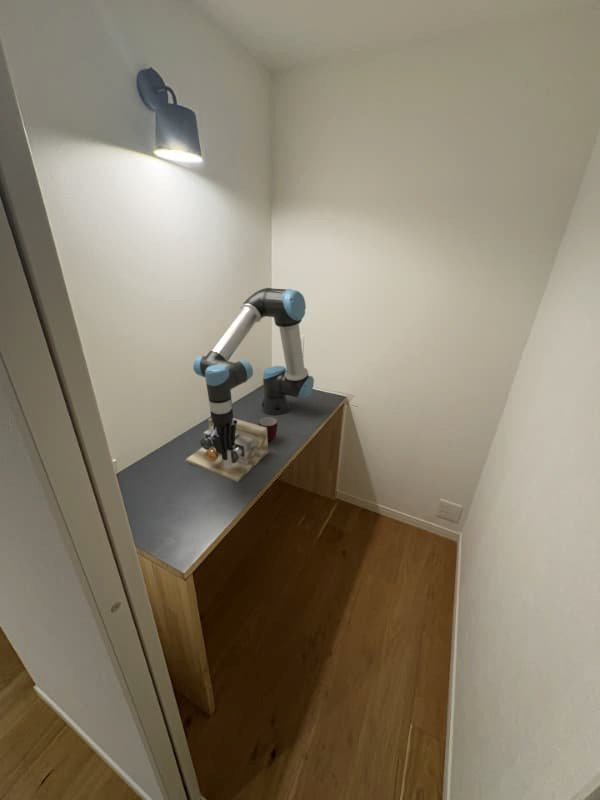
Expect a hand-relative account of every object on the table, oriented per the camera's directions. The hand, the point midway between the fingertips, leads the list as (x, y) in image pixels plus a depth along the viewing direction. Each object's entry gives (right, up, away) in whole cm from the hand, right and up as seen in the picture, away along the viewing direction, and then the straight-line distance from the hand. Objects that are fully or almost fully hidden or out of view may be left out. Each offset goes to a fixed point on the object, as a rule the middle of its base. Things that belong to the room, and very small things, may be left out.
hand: (227, 464), depth 119 cm
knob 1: (-9, +6, +13) cm, 17 cm away
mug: (+13, +5, +22) cm, 26 cm away
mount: (-3, +1, +12) cm, 12 cm away
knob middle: (-5, +2, +6) cm, 8 cm away
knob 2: (+3, +2, +5) cm, 6 cm away
